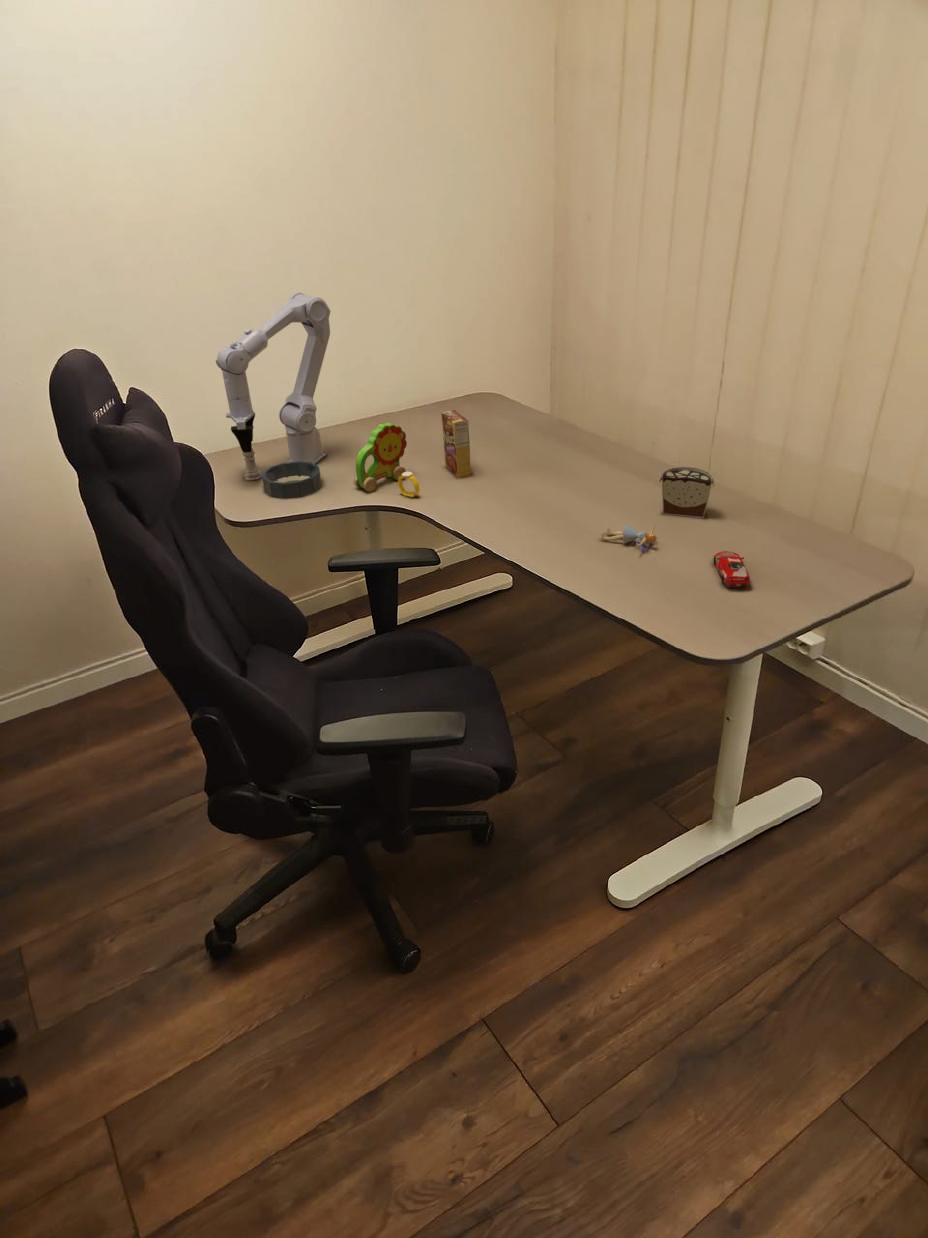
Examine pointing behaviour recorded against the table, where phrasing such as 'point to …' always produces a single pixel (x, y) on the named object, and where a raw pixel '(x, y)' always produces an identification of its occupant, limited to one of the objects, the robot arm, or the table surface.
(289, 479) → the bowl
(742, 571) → the race car
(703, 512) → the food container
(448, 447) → the candy box
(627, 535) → the fairy figurine
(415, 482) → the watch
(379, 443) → the toy lion
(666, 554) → the table surface
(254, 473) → the rook chess piece
